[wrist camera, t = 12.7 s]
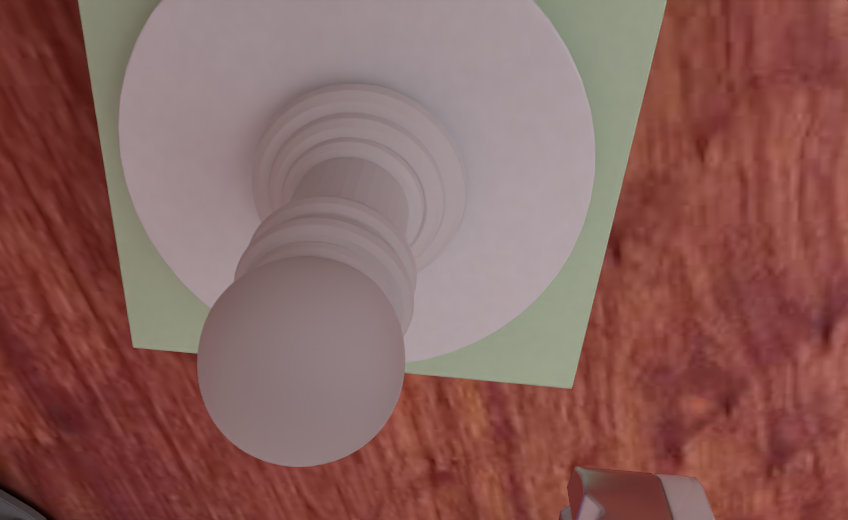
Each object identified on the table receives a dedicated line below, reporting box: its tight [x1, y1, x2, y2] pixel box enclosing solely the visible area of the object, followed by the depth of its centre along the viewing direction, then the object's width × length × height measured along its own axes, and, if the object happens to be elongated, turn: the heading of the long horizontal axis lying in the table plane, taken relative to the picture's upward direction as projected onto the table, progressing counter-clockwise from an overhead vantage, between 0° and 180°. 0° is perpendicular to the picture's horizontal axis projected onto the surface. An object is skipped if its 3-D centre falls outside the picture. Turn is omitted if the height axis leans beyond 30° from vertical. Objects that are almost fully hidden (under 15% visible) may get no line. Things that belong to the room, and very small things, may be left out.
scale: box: [78, 0, 667, 389], centre depth 19 cm, size 15×14×4 cm
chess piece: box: [197, 83, 468, 467], centre depth 14 cm, size 5×5×9 cm
